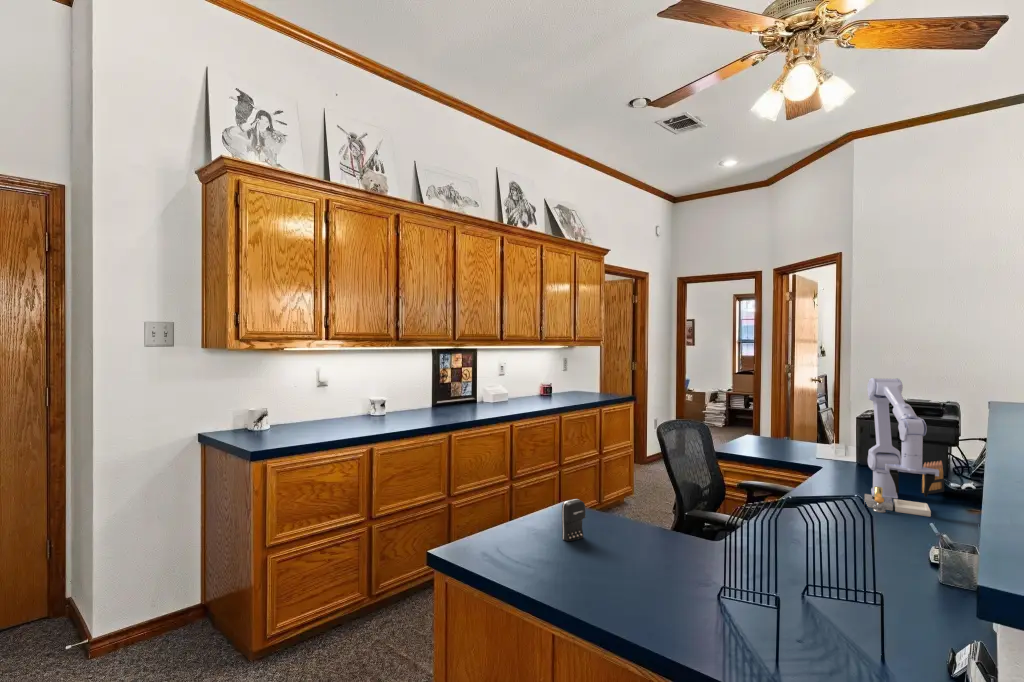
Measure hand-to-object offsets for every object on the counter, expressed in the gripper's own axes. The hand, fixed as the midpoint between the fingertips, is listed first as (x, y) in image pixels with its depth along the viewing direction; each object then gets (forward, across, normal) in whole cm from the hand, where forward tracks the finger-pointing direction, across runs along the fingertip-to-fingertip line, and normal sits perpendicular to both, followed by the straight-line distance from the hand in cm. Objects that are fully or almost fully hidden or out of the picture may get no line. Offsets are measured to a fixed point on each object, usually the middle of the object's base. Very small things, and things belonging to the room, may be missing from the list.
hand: (911, 494), depth 183 cm
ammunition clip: (+7, +10, +35) cm, 37 cm away
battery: (+7, -88, -80) cm, 119 cm away
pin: (+7, -9, +5) cm, 12 cm away
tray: (+7, 0, +5) cm, 8 cm away
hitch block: (+7, -9, +2) cm, 11 cm away
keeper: (+3, -9, 0) cm, 10 cm away
